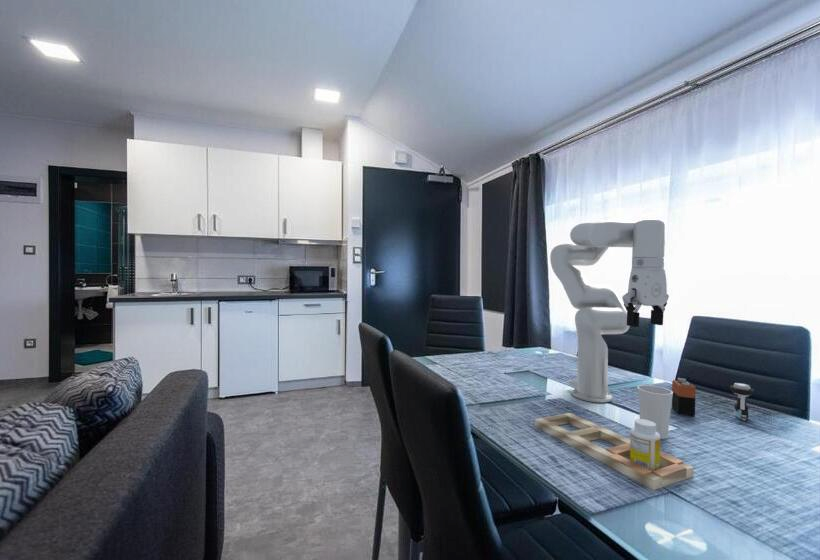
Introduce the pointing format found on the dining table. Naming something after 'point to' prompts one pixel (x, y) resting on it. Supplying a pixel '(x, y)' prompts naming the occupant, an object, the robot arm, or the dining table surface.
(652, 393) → the cup
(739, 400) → the push button
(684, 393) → the battery
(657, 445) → the supplement bottle
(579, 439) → the rack
